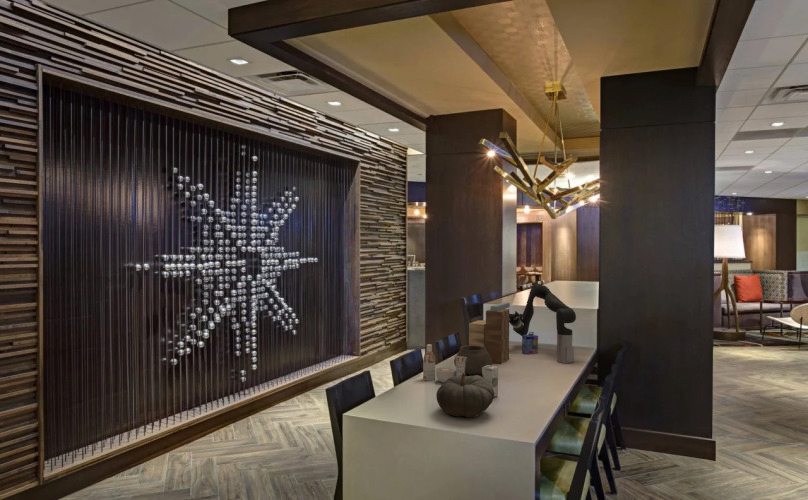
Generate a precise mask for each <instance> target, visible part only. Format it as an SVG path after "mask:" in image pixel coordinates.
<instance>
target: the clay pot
mask: <svg viewBox="0 0 808 500" xmlns="http://www.w3.org/2000/svg"><path fill="white" fill-rule="evenodd" d="M455 356H463V357H467V359H466V365H465V375H469V376H475V375H479V376H480V375H482V367H484V366H487V365H493V363H492V359H491V356H490V355H489V353H488V352H487V350H486V348H485V347H482V346H477V345H469V344H468V345H462V346H460V347H459V351H457V353H456V355H455ZM453 364H454V366H455V367H456V360H455V358H454V360H453Z"/></svg>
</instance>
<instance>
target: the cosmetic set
mask: <svg viewBox="0 0 808 500" xmlns="http://www.w3.org/2000/svg"><path fill="white" fill-rule="evenodd" d="M422 358H423V360H422V362H423V363H422V376H423V377H422V379H423V380H424V381H426V382H427V381H435V380H437V381H439V382H440V383H442V384H443V383H444V382H445V381H446V380H447V379H449V378H450V377H453V376H461V377H462V373H464V375H465V376H466V374H465V365H466V359H467V357H463V356H456V355H454V359H455V360H456V366H455V369H454V368H452V367H438V368H437V369H436V355H435V354H434V352H433V345H432V344H429V343H428V344H426V351H425V353H424V354H423V357H422ZM455 371H456V372H455ZM436 378H437V379H436Z"/></svg>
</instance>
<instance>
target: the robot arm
mask: <svg viewBox="0 0 808 500" xmlns="http://www.w3.org/2000/svg"><path fill="white" fill-rule="evenodd" d="M531 286H532V287H531V288H530V291H529V294H528V298H527V300H526V301H527V302H526V305H525V308H524V310H523V311H522V313H520V312H519V313H518V311H516V310H515V311H514V313H509V325H510V326H511V327H512V330H513V332H514V333H516V334H518V335H519V336H521V337H522V335H528V334H529V331H530V330H529V329H530V323H531V322H532V321H531V320H532V319H533V316H534V313H535V310H534V308H535V307H534V300H535V298H540V300H541V299H542V300H544V305H545V306H546V307H547V308H548V310H550V311H551V312H554V313H555V316H556V317H555V319H556V320H555V322H556V323H555V324H556V362H558V363H563V364H571V363H574V361H575V359H574V357H575V356H574V353H575V351H574V346H573V329H571V328H568V327H566V325H565V324H573V323H575V321H576V320H577V315H576V312H575V310H574V309H572V308H571V307H570V306H568V305H566V304H565V303H564V302H563V301H562V300H561V299H560V298H558V296H556V295H555V294H554V293H553V292H551V290H550V288H548V286H547V285H543V284H541V283H536V282H535V283H534V284H533V285H531Z"/></svg>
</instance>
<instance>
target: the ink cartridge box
mask: <svg viewBox="0 0 808 500" xmlns="http://www.w3.org/2000/svg"><path fill="white" fill-rule="evenodd" d="M534 333H535V332H534V331H528V333H527V335H522V336H521V337H522V338H521V354H524V355H532V354H533V355H534V354H535V355H536V354H538V353H539V352H538V350H539V335H537V334H534Z"/></svg>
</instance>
